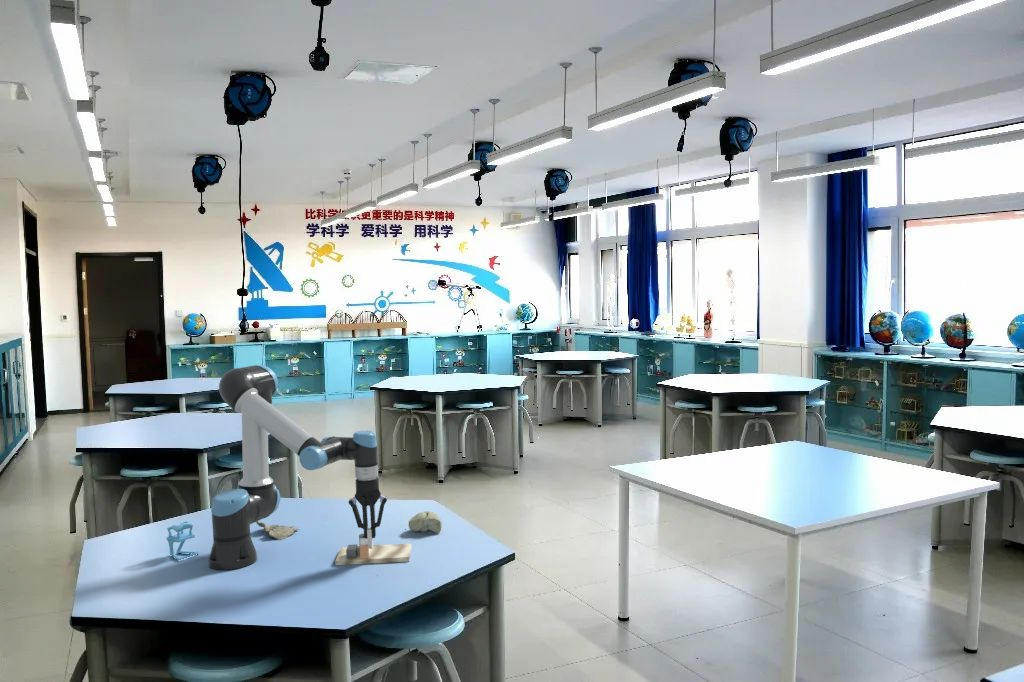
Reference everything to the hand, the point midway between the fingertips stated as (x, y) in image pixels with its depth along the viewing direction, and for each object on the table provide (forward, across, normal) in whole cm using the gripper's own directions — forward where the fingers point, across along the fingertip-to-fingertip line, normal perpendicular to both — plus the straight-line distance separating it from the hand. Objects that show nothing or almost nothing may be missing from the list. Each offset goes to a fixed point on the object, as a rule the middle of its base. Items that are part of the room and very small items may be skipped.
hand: (370, 547), depth 255 cm
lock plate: (+4, +1, +3) cm, 5 cm away
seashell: (+5, +17, +28) cm, 33 cm away
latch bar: (+2, -2, +3) cm, 4 cm away
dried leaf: (+4, -39, +34) cm, 52 cm away
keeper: (+2, -6, 0) cm, 7 cm away
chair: (+4, -66, +13) cm, 67 cm away
